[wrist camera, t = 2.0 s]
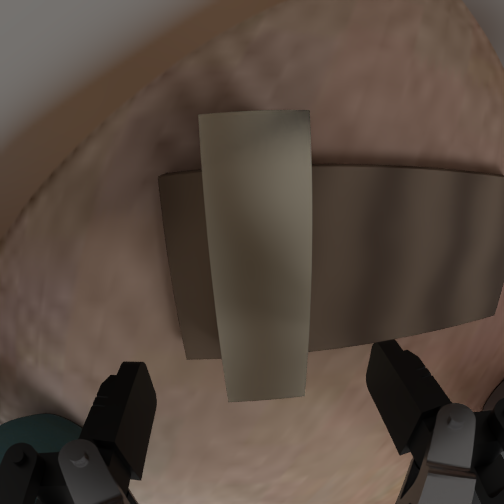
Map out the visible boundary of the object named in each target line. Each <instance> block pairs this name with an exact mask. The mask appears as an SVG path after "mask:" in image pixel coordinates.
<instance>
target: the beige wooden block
mask: <svg viewBox="0 0 504 504" xmlns="http://www.w3.org/2000/svg"><path fill="white" fill-rule="evenodd" d="M198 119H199V136H200V152H201V166H202V179H203V192H204V204H205V215H206V226H207V236H208V246H209V256H210V266H211V275H212V284H213V292H214V301H215V309H216V317H217V325H218V333H219V341H220V348H221V355H222V363H223V370H224V376H225V383H226V390H227V396H228V402H242V401H258V400H271V399H282V398H292V397H300V396H305V386H306V373H307V359H308V343H309V325H310V303H311V273H312V161H311V132H310V110H262V111H239V112H224V113H211V114H201V115H198Z"/></svg>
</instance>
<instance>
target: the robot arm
mask: <svg viewBox="0 0 504 504" xmlns="http://www.w3.org/2000/svg"><path fill="white" fill-rule="evenodd" d="M366 383H367V387H368V390H369V392H370V394H371V396H372V398H373V400H374V402H375V404H376V406H377V408H378V411H379V413H380V415H381V417H382V419H383V421H384V423H385V425H386V427H387V429H388V431H389V433H390V436H391V438H392V440H393V442H394V444H395V446H396V448H397V451H398V453H399V455H402V454H405V453H408V452H411V453H412V455H413V458H412V460H411V462H410V465H409V468H408V471H407V474H406V477H405V480H404V482H403V485H402V488H401V490H400V493H399V496H398V498H397V501H396V503H395V504H471V503H472V498H473V493H474V489H475V491H476V493H477V495H478V498H479V500H480V502H481V504H504V459H503V457H502V455H501V454H500V453H501V452H502V451H504V381H503V382H502V383H501V384H500V385H499V386H498V387H497V388H496V390H495V391H494V392H493V393H492V395H491V396H490V397H489V399H488V400H487V402H486V404H485V406H484V409H483V411H481V412H472V410H471V409H470V408H468V407H467V406H465V405H463V404H459V403H452V402H451V401H450V400H449V398H448V397H447V395H446V394H445V392H444V391H443V390H442V388H441V387H440V385H439V384H438V383H437V381H436V380H435V379H434V377H433V376H431V373H430V372H429V370H428V369H427V368H425V365H424V364H423V362H422V361H421V360H420V358H419V357H418V356H416V355H415V354H413V353H412V352H410V351H409V350H405V351H403V350H402V348H401V347H400V346H399V344H398V343H397V342H396V340H394V339H391V340H386V341H381V342H376V343H374V344H373V346H372V349H371V354H370V359H369V364H368V369H367V373H366ZM156 406H157V399H156V393H155V390H154V387H153V384H152V381H151V378H150V375H149V373H148V370H147V367H146V364H145V363H144V362H123V363H122V364H121V366H120V369H119V371H118V373H117V375H110V376H109V377H108V378H107V379H106V380H105V381H104V382H103V383H102V384H101V386H100V389H99V391H98V393H97V397H96V398H95V400H94V402H93V406H92V407H91V409H90V412H89V414H88V417H87V419H86V421H85V424H84V426H83V429H82V431H81V434H80V436H79V438H78V439H76V440H72V441H70V442H68V443H66V444H65V445H64V446H63V447H62V448H61V450H60V452H49V453H37V451H36V450H35V449H34V448H33V447H32V446H31V445H29V444H27V443H16V444H14V445H12V446H11V447H9V448H8V449H7V451H6V452H5V454H4V457H3V459H2V462H1V464H0V504H138V502H137V501H136V499H135V497H134V496H133V494H132V493H131V491H130V490H129V488H128V487H129V482H130V479H133V480H141V478H142V473H143V468H144V463H145V458H146V453H147V448H148V443H149V439H150V434H151V429H152V425H153V420H154V416H155V411H156ZM36 497H37V499H36ZM35 501H36V502H35Z"/></svg>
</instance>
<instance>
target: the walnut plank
mask: <svg viewBox="0 0 504 504" xmlns="http://www.w3.org/2000/svg"><path fill="white" fill-rule="evenodd" d="M158 182H159V192H160V201H161V210H162V218H163V226H164V233H165V241H166V248H167V255H168V261H169V268H170V274H171V280H172V286H173V292H174V298H175V303H176V309H177V314H178V319H179V324H180V329H181V334H182V339H183V344H184V349H185V353H186V358H187V360H190V359H222V355H221V348H220V341H219V333H218V325H217V317H216V309H215V301H214V292H213V284H212V275H211V266H210V256H209V246H208V236H207V226H206V215H205V204H204V192H203V179H202V170H191V171H181V172H171V173H165V174H163V175H160V176H158ZM503 283H504V176H503V175H496V174H489V173H480V172H472V171H462V170H452V169H441V168H428V167H413V166H395V165H367V164H312V273H311V303H310V325H309V343H308V352H312V351H321V350H329V349H336V348H343V347H350V346H357V345H363V344H369V343H375V342H381V341H386V340H391V339H398V338H403V337H408V336H413V335H418V334H422V333H427V332H431V331H436V330H440V329H444V328H449V327H453V326H457V325H461V324H464V323H468V322H472V321H476V320H479V319H483V318H486V317H490V316H493V315H494V314H495V311H496V308H497V305H498V301H499V298H500V294H501V291H502V287H503Z"/></svg>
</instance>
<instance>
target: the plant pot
mask: <svg viewBox="0 0 504 504" xmlns="http://www.w3.org/2000/svg"><path fill="white" fill-rule="evenodd" d="M81 431H82V428H81V427H79V426H78V425H76V424H74V423H73V422H71V421H69V420H67V419H65V418H62V417H60V416H57V415H53V414H37V415H31V416H26V417H21V418H17V419H14V420H11V421H8V422H6V423H4V424H2V425H0V464H1V462H2V459H3V457H4V454H5V452H6V451H7V449H8V448H9V447H11V446H12V445H14V444H16V443H27V444H29V445H31V446H32V447H33V448H34V449H35V450H36V451H37V453H49V452H60V450H61V448H62V447H63V446H64V445H65V444H66V443H68V442H70V441H72V440H76V439H78V438H79V436H80V434H81ZM36 499H37V497H36ZM35 502H36V501H35Z"/></svg>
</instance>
